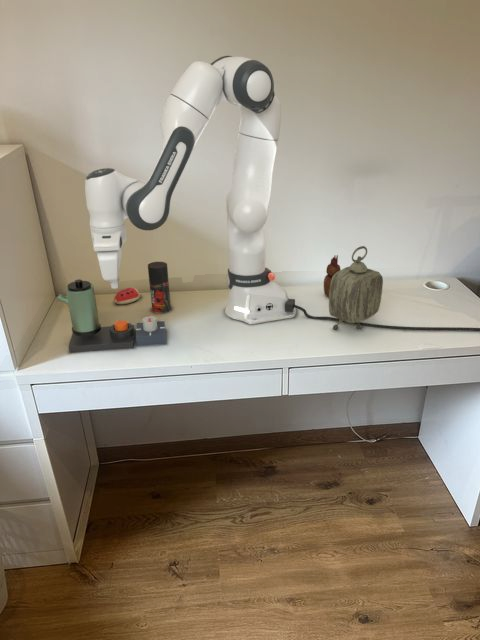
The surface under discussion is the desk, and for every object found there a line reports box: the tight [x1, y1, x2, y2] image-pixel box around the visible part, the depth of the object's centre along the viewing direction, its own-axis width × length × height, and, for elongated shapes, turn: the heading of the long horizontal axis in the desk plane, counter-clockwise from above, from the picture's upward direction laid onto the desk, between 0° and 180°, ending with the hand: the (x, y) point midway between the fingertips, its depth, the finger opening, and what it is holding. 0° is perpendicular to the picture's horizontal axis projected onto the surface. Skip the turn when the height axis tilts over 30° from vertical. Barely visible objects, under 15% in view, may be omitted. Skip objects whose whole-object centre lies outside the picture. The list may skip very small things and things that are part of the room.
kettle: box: [56, 279, 102, 336], centre depth 150 cm, size 10×10×15 cm
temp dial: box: [141, 315, 158, 332], centre depth 155 cm, size 4×4×3 cm
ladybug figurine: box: [113, 287, 141, 305], centre depth 180 cm, size 7×10×4 cm
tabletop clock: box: [328, 245, 384, 331], centre depth 158 cm, size 14×9×25 cm, turn 134°
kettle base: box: [68, 322, 135, 354], centre depth 154 cm, size 17×11×4 cm, turn 100°
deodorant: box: [147, 261, 172, 314], centre depth 171 cm, size 6×6×15 cm
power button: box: [113, 319, 129, 331], centre depth 154 cm, size 4×4×2 cm
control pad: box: [135, 320, 167, 347], centre depth 156 cm, size 8×9×3 cm
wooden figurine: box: [323, 254, 341, 298], centre depth 181 cm, size 7×6×15 cm
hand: (115, 284), depth 148 cm, fingers open, 3 cm apart
